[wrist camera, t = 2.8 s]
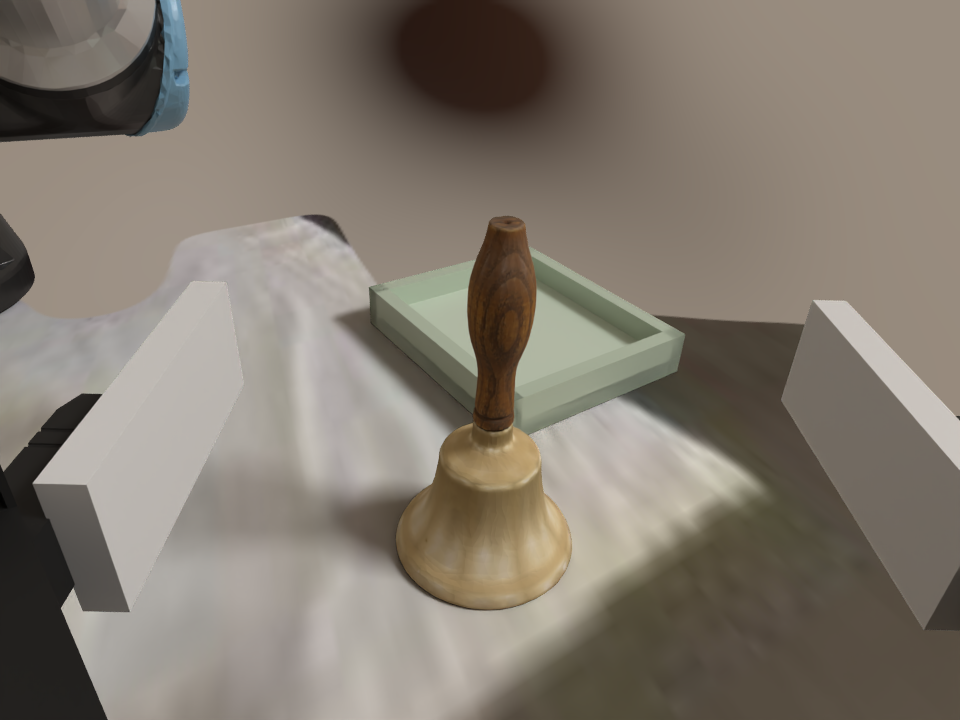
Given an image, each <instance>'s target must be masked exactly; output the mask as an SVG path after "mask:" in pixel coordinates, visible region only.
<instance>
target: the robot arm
mask: <svg viewBox="0 0 960 720" xmlns="http://www.w3.org/2000/svg"><path fill="white" fill-rule="evenodd" d="M187 67H188V49H187V40H186V33H185V25H184V19H183V13H182V7H181V2H180V0H0V142H11V141H27V140H43V139H58V138H75V137H90V136H91V137H92V136H107V135H124V134H125V135H127V136H130V137H131V136H143V135H145V134H147V133H149V132H157V131H165V130H170V129H173V128H175V127H177V126H178V125H179V124H180V123H181V122H182V121H183V119H184V118H185V116H186V113H187V110H188V104H189V78H188V73H187ZM34 278H35V275H34V271H33V268H32V265H31V262H30V259H29V256H28V253H27V250H26V248H25V246H24V244H23V243H22V241H21V240H20V238H19V237H18V236H17V235H16V233H15V232H14V231H13V229H12V228H11V227H10V226H9V224H8V223H7V222H6V220H5V219H4V218H3V216H2V215H1V214H0V312H2V311H3V310H5V309H7V308H8V307H10V306H12V305H13V304H14V303H16V302H17V301H18V300H20V299H21V298H22V297H23V296H24V295H25V294H26V293H27V292H28V291H29V289H30V288H31V287H32V285H33V283H34ZM243 386H244V381H243V375H242V369H241V363H240V357H239V352H238V346H237V340H236V334H235V328H234V322H233V316H232V311H231V305H230V299H229V293H228V287H227V282H209V281H192V282H191V283H190V284H189V285H188V287H187V288H186V289H185V290H184V292H183V293H182V294H181V295H180V297H179V298H178V299H177V301H176V302H175V303H174V304H173V306H172V307H171V308H170V309H169V311H168V312H167V313H166V315H165V316H164V317H163V318H162V320H161V321H160V322H159V323H158V325H157V326H156V327H155V328H154V330H153V331H152V332H151V334H150V335H149V336H148V337H147V339H146V340H145V341H144V342H143V344H142V345H141V346H140V348H139V349H138V350H137V351H136V353H135V354H134V355H133V356H132V358H131V359H130V360H129V362H128V363H127V364H126V365H125V367H124V368H123V369H122V370H121V372H120V373H119V374H118V375H117V377H116V378H115V379H114V381H113V382H112V383H111V384H110V386H109V387H108V388H107V389H106V391H105V392H104V393H103V394H81V395H79V396H77V397H76V398H74V399H73V400H71V401H70V402H68V403H66V404H65V405H63V406H62V407H60V408H59V409H57V410H56V411H55V412H54V414H53V415H52V416H51V417H50V418H49V419H48V421H47V422H46V423H45V424H44V425H43V426H42V428H41V432H37V433H36V435H35V436H34V437H33V438H32V439H31V440H30V442H29V443H28V447H24V449H23V450H22V451H21V452H20V453H19V454H18V456H17V457H16V458H15V459H14V460H13V461H12V463H11V464H10V465H9V466H8V467H7V468H6V470H5V471H4V472H3V470H2V468H1V465H0V720H108V719H107V717H106V715H105V712H104V710H103V707H102V705H101V703H100V700H99V698H98V696H97V693H96V691H95V689H94V686H93V684H92V681H91V679H90V677H89V674H88V672H87V670H86V667H85V665H84V662H83V660H82V658H81V655H80V653H79V651H78V648H77V646H76V643H75V641H74V639H73V636H72V634H71V632H70V629H69V627H68V625H67V622H66V620H65V617H64V615H63V613H62V610H61V607H62V605H63V603H64V602H65V600H66V599H67V597H68V595H69V594H70V592H71V590H72V589H73V587H74V590H75V592H76V595H77V598H78V600H79V603H80V605H81V608H82V610H83V611H99V612H131V610H132V608H133V606H134V604H135V602H136V600H137V598H138V596H139V594H140V592H141V590H142V588H143V586H144V584H145V582H146V580H147V578H148V576H149V574H150V572H151V570H152V568H153V566H154V564H155V562H156V560H157V558H158V556H159V554H160V552H161V550H162V548H163V546H164V544H165V542H166V540H167V538H168V536H169V534H170V532H171V530H172V528H173V526H174V524H175V522H176V520H177V518H178V516H179V514H180V512H181V510H182V508H183V506H184V504H185V502H186V500H187V498H188V496H189V494H190V492H191V490H192V488H193V486H194V484H195V482H196V480H197V478H198V476H199V474H200V472H201V470H202V468H203V466H204V464H205V462H206V460H207V458H208V456H209V454H210V452H211V450H212V448H213V446H214V444H215V442H216V440H217V438H218V436H219V434H220V432H221V430H222V428H223V426H224V424H225V422H226V420H227V418H228V416H229V414H230V412H231V410H232V408H233V406H234V404H235V402H236V400H237V398H238V396H239V394H240V392H241V390H242V388H243ZM781 401H782V402H783V404H784V406H785V407H786V409H787V410H788V412H789V414H790V415H791V417H792V418H793V420H794V422H795V423H796V425H797V426H798V428H799V430H800V431H801V433H802V435H803V436H804V438H805V439H806V441H807V443H808V444H809V446H810V447H811V449H812V451H813V452H814V454H815V455H816V457H817V459H818V460H819V462H820V464H821V465H822V467H823V468H824V470H825V472H826V473H827V475H828V476H829V478H830V480H831V481H832V483H833V484H834V486H835V488H836V489H837V491H838V493H839V494H840V496H841V497H842V499H843V501H844V502H845V504H846V505H847V507H848V509H849V510H850V512H851V514H852V515H853V517H854V518H855V520H856V522H857V523H858V525H859V526H860V528H861V530H862V531H863V533H864V534H865V536H866V538H867V539H868V541H869V543H870V544H871V546H872V547H873V549H874V551H875V552H876V554H877V555H878V557H879V559H880V560H881V562H882V563H883V565H884V567H885V568H886V570H887V572H888V573H889V575H890V576H891V578H892V580H893V581H894V583H895V584H896V586H897V588H898V589H899V591H900V592H901V594H902V596H903V597H904V599H905V601H906V602H907V604H908V605H909V607H910V609H911V610H912V612H913V613H914V615H915V617H916V618H917V620H918V621H919V623H920V625H921V626H922V628H923V630H950V631H960V416H955V415H954V414H953V413H952V412H951V411H950V410H949V409H948V408H947V407H946V406H945V405H944V403H942V401H940V399H939V398H938V397H937V396H936V395H935V394H934V393H933V392H932V391H931V390H930V389H929V388H928V387H927V386H926V385H925V383H924V382H923V381H922V380H921V379H920V378H919V377H918V376H917V375H916V374H915V373H914V372H913V371H912V370H911V369H910V368H909V367H908V366H907V365H906V363H905V362H904V361H903V360H902V359H900V357H899V356H898V355H897V354H896V353H895V352H894V351H893V350H892V349H891V348H890V347H889V346H888V344H886V342H885V341H884V340H883V339H882V338H881V337H880V336H879V335H878V334H877V333H876V332H875V331H874V330H873V329H872V328H871V327H870V326H869V325H868V323H867V322H866V321H865V320H864V319H863V318H862V317H861V316H860V315H859V314H858V313H857V312H856V311H855V310H854V309H853V308H852V307H851V306H850V304H849V303H847V301H829V300H812V304H811V307H810V310H809V314H808V316H807V319H806V323H805V326H804V329H803V332H802V335H801V339H800V342H799V345H798V348H797V351H796V354H795V358H794V361H793V364H792V367H791V370H790V373H789V377H788V380H787V383H786V386H785V389H784V393H783V396H782V399H781Z"/></svg>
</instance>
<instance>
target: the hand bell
mask: <svg viewBox="0 0 960 720" xmlns="http://www.w3.org/2000/svg"><path fill="white" fill-rule="evenodd" d="M536 295H537V285H536V276H535V270H534V265H533V261H532V257H531V253H530V250H529V246H528V241H527V237H526V228H525V223H524V222H523V221H522V220H520V219H519V218H516V217H513V216H502V217H494V218H492V219H491V220H490V221H489V225H488V229H487V233H486V236H485V239H484V242H483V245H482V247H481V249H480V252H479V254H478V256H477V259H476V261H475V263H474V266H473V270H472V273H471V276H470V281H469V286H468V299H467V318H468V329H469V335H470V340H471V343H472V347H473V350H474V353H475V357H476V361H477V368H478V377H477V388H476V397H475V408H474V411H473V419H474V420H473V423H471V424H468V425H464V426H462V427H460V428H458V429H456V430H455V431H453V432H452V433H451V434H450V435H449V436H448V437H447V438H446V439H445V441H444V442H443V444H442V446H441V448H440V452H439V460H438V465H437V470H436V474H435V477H434V480H433V483H432V484H431V485H429V486H428V487H426V488H425V489H424V490H422V491H421V492H420V493H419V494H418V495H417V496H416V497H415V498H414V499H413V500H412V501H411V502H410V503H409V505H408V506H407V508H406V509H405V510H404V512H403V514H402V516H401V518H400V520H399V523H398V526H397V531H396V546H397V551H398V555H399V558H400V561H401V562H402V564H403V566H404V568H405V570H406V572H407V573H408V574H409V575H410V577H411V578H412V579H413V580H414V581H415V582H416V583H417V584H418V585H419V586H421V587H422V588H423V589H424V590H426V591H427V592H429V593H430V594H432V595H433V596H435V597H437V598H439V599H442V600H444V601H446V602H449V603H452V604H455V605H458V606H462V607H467V608H473V609H485V610H493V609H504V608H509V607H514V606H518V605H522V604H524V603H527V602H529V601H531V600H534V599H536V598H538V597H539V596H541V595H543V594H544V593H546V592H547V591H548V590H550V589H551V588H552V587H554V586H555V585H556V584H557V583H558V581H559V580H560V578H561V577H562V575H563V574H564V573H565V571H566V569H567V566H568V564H569V561H570V557H571V552H572V539H571V534H570V530H569V527H568V524H567V522H566V519H565V518H564V516H563V514H562V512H561V511H560V509H559V508H558V506H557V505H556V504H555V503H554V502H553V501H552V500H551V499H550V498H549V497H548V496H547V495H546V494H545V493H544V491H543V486H542V475H541V455H540V452H539V449H538V447H537V445H536V444H535V442H534V441H533V440H532V439H531V438H530V437H529V436H528V435H527V434H526V433H524V432H523V431H521V430H520V429H518V428H515V427H513V421H514V395H515V377H516V370H517V366H518V363H519V361H520V359H521V356H522V354H523V352H524V350H525V348H526V346H527V343H528V340H529V337H530V333H531V329H532V325H533V321H534V315H535V309H536Z"/></svg>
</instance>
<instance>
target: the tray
mask: <svg viewBox="0 0 960 720" xmlns="http://www.w3.org/2000/svg"><path fill="white" fill-rule="evenodd" d="M529 250H530V253H531V257H532V261H533V265H534V270H535V276H536V285H537V295H536V309H535V315H534V321H533V325H532V329H531V333H530V337H529V340H528V343H527V346H526V348H525V350H524V352H523V354H522V356H521V359H520V361H519V363H518V366H517V370H516V377H515V395H514V421H513V427H515V428H518V429H520V430H521V431H523V432H524V433H526V434H527V435H529V434H531V433H533V432H536V431H538V430H540V429H543V428H545V427H547V426H550V425H552V424H554V423H557V422H559V421H562V420H564V419H566V418H569V417H571V416H573V415H576V414H578V413H580V412H583V411H585V410H587V409H590V408H592V407H594V406H597V405H599V404H601V403H604V402H606V401H608V400H611V399H613V398H615V397H618V396H620V395H623V394H625V393H627V392H630V391H632V390H634V389H637V388H639V387H641V386H644V385H646V384H648V383H651V382H653V381H655V380H658V379H660V378H662V377H665V376H667V375H669V374H672V373H674V372H677V369H678V365H679V360H680V356H681V351H682V347H683V342H684V338H685V334H684V333H682V332H680V331H678V330H676V329H675V328H673V327H671V326H669V325H668V324H666V323H664V322H662V321H661V320H659V319H657V318H655V317H653V316H652V315H650V314H648V313H646V312H644V311H643V310H641V309H639V308H638V307H636V306H634V305H632V304H631V303H629V302H627V301H625V300H623V299H622V298H620V297H618V296H616V295H615V294H613V293H611V292H609V291H608V290H605V289H604V288H602V287H600V286H599V285H597V284H595V283H593V282H592V281H590V280H588V279H586V278H585V277H583V276H581V275H579V274H577V273H576V272H574V271H572V270H570V269H569V268H567V267H565V266H563V265H561V264H560V263H558V262H556V261H554V260H553V259H551V258H549V257H547V256H546V255H544V254H542V253H540V252H539V251H537V250H535V249H533V248H531V247H530V246H529ZM475 261H476V260H472V261H469V262H465V263H461V264H457V265H453V266H449V267H445V268H441V269H437V270H434V271H430V272H426V273H423V274H418V275H414V276H411V277H407V278H403V279H399V280H395V281H391V282H387V283H383V284H379V285H375V286H371V287H369V296H370V315H371V323H372V324H373V325H374V326H375V327H376V328H377V329H379V330H380V331H381V332H382V333H383V334H384V335H385V336H386V337H387V338H389V339H390V340H391V341H392V342H393V343H394V344H395V345H396V346H397V347H398V348H400V349H401V350H402V351H403V352H404V353H405V354H406V355H407V356H408V357H410V358H411V359H412V360H413V361H414V362H415V363H416V364H417V365H418V366H420V367H421V368H422V369H423V370H424V371H425V372H426V373H427V374H428V375H430V376H431V377H432V378H433V379H434V380H435V381H436V382H437V383H438V384H439V385H441V386H442V387H443V388H444V389H445V390H446V391H447V392H448V393H449V394H451V395H452V396H453V397H454V398H455V399H456V400H457V401H458V402H459V403H461V404H462V405H463V406H464V407H465V408H466V409H467V410H468V411H469V412H470V413H472V414H473V411H474V408H475V397H476V388H477V377H478V368H477V361H476V357H475V353H474V350H473V347H472V343H471V340H470V335H469V329H468V318H467V299H468V286H469V281H470V276H471V273H472V270H473V266H474V263H475Z"/></svg>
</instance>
